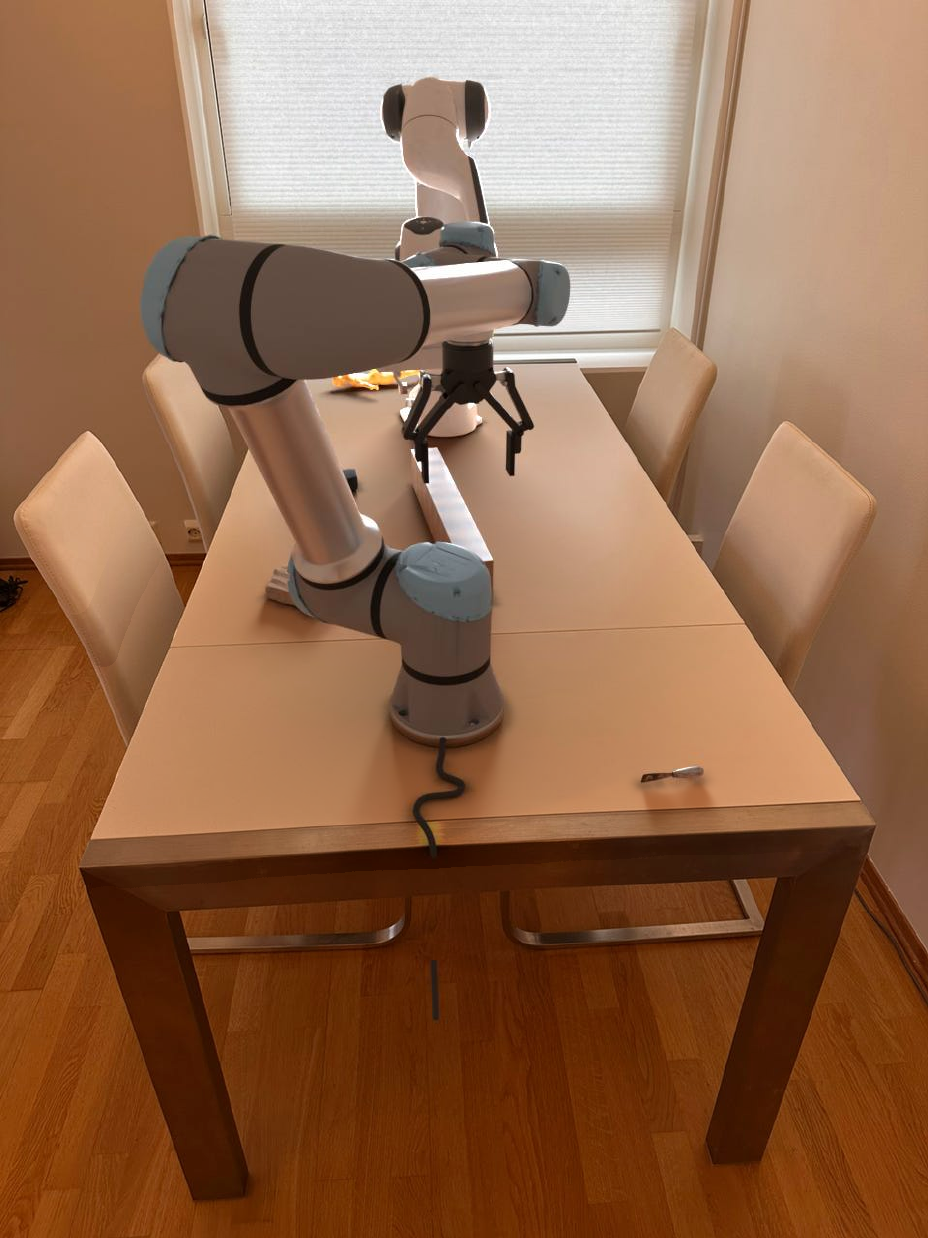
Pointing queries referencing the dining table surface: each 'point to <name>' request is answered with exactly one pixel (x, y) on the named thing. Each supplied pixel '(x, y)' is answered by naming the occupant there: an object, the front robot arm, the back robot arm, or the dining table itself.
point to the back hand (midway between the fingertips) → (428, 391)
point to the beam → (447, 509)
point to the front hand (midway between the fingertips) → (468, 476)
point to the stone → (279, 586)
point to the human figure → (370, 379)
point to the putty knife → (674, 774)
